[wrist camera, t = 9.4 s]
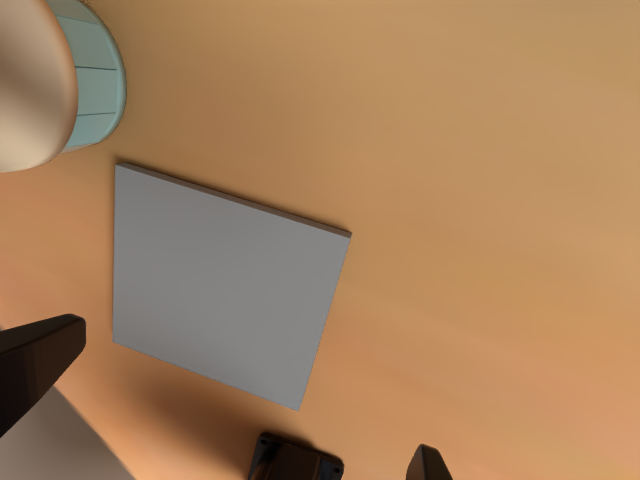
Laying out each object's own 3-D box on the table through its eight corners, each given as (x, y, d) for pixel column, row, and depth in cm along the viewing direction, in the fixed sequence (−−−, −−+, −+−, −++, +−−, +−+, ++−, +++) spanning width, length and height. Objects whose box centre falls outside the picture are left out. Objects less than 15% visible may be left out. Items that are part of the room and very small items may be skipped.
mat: (301, 402, 26) (298, 411, 25) (120, 335, 28) (112, 341, 27) (352, 233, 21) (349, 238, 20) (124, 162, 22) (115, 164, 22)
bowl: (125, 163, 22) (69, 177, 19) (8, 126, 23) (-67, 133, 20) (129, 7, 19) (63, -12, 15) (-7, -28, 20) (-100, -55, 16)
